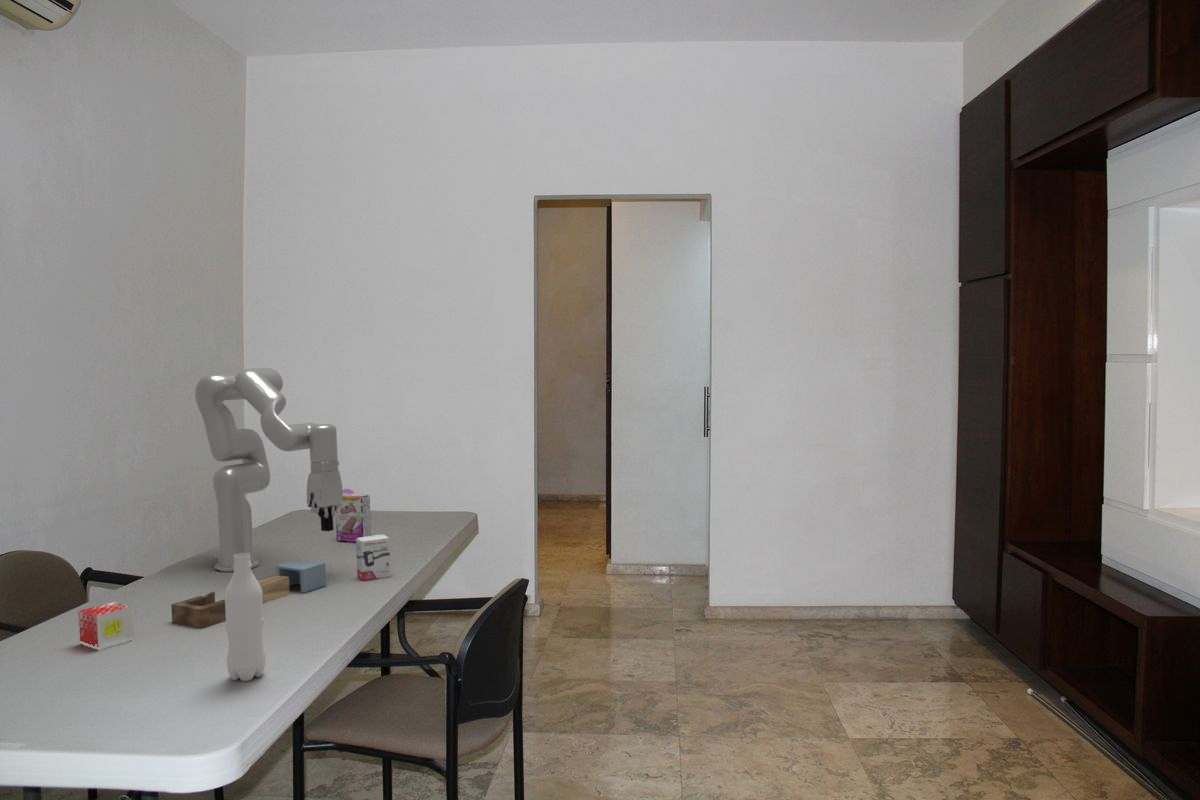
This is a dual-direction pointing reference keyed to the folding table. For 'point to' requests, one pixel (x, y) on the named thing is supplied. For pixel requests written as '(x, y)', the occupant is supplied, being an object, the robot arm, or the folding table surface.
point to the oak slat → (274, 587)
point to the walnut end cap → (199, 611)
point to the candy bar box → (353, 517)
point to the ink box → (373, 557)
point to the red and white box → (106, 624)
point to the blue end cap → (304, 574)
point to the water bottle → (244, 621)
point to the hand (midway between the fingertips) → (327, 530)
